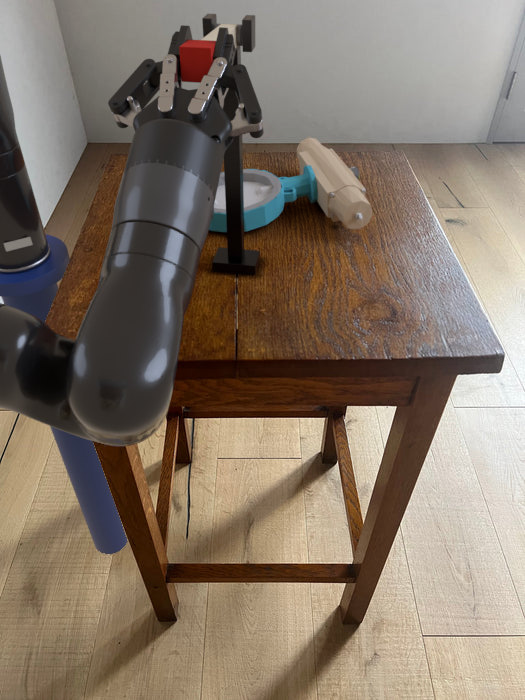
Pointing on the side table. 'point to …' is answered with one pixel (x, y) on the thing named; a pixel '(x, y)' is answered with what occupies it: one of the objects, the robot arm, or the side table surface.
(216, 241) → the side table surface
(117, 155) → the side table surface
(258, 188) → the butterfly valve
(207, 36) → the lever
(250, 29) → the lever post
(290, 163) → the side table surface
